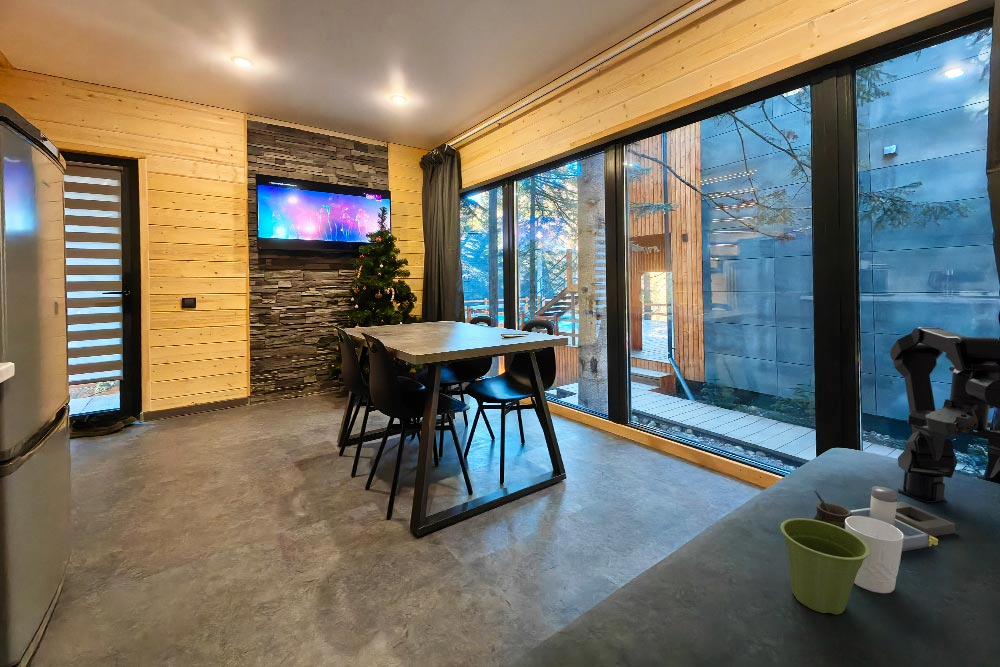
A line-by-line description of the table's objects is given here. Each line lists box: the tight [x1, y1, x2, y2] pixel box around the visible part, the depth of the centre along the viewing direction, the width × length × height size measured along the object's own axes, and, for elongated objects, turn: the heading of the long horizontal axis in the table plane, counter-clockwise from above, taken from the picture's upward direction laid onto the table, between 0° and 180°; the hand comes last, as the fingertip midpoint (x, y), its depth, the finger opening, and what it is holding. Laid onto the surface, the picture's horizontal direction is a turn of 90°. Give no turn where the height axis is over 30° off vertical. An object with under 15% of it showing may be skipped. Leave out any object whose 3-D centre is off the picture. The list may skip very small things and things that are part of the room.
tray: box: [849, 507, 930, 552], centre depth 92 cm, size 11×9×2 cm
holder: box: [895, 500, 956, 537], centre depth 96 cm, size 10×8×2 cm
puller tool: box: [929, 536, 939, 547], centre depth 92 cm, size 9×2×1 cm, turn 12°
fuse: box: [869, 485, 898, 526], centre depth 92 cm, size 4×4×9 cm
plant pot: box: [780, 517, 870, 615], centre depth 73 cm, size 12×12×11 cm
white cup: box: [845, 516, 904, 594], centre depth 77 cm, size 8×8×10 cm
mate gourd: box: [813, 490, 851, 529], centre depth 88 cm, size 7×8×10 cm
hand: (962, 468), depth 94 cm, fingers open, 9 cm apart
